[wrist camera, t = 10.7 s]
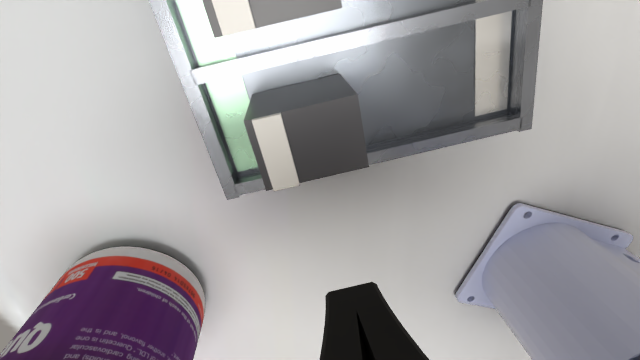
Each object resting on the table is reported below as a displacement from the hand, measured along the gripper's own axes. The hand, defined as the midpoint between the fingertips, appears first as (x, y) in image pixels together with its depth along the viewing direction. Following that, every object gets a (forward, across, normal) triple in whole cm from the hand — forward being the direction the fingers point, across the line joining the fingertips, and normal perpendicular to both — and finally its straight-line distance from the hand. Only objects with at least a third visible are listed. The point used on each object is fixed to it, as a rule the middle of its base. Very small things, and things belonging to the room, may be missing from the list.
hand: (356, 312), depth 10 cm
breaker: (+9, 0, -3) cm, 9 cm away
